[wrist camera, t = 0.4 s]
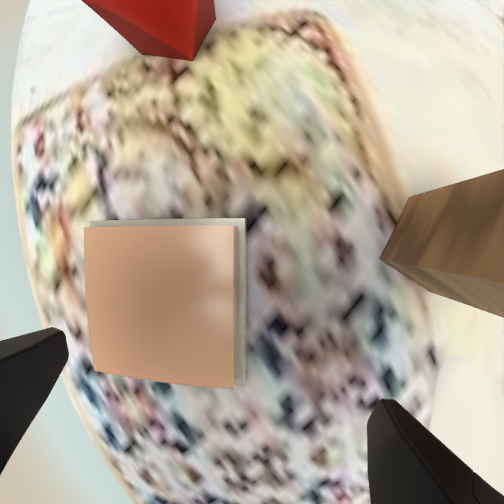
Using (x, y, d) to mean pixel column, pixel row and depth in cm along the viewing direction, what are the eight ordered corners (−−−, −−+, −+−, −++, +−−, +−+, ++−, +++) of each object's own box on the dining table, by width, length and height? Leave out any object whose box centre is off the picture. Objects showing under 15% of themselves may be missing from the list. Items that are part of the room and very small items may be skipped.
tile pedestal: (245, 376, 21) (242, 395, 18) (108, 361, 21) (90, 375, 18) (246, 219, 20) (242, 216, 17) (100, 222, 21) (78, 220, 18)
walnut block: (429, 291, 20) (559, 338, 7) (379, 258, 20) (508, 284, 7) (456, 233, 19) (590, 231, 6) (409, 197, 20) (541, 158, 7)
